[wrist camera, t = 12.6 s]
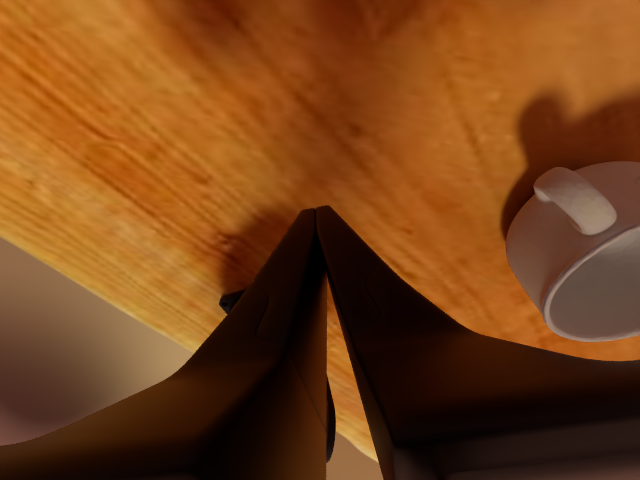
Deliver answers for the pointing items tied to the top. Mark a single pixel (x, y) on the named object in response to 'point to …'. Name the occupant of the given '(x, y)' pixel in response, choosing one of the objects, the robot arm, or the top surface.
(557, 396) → the robot arm
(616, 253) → the teacup
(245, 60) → the top surface
